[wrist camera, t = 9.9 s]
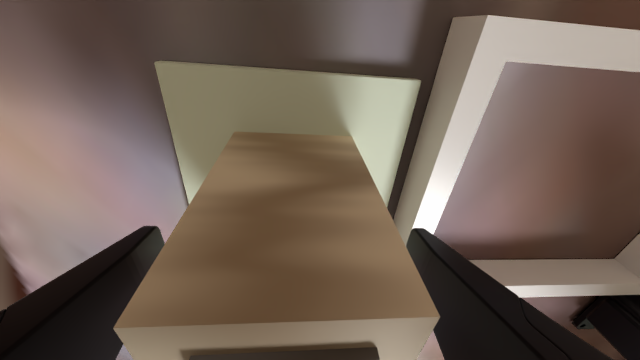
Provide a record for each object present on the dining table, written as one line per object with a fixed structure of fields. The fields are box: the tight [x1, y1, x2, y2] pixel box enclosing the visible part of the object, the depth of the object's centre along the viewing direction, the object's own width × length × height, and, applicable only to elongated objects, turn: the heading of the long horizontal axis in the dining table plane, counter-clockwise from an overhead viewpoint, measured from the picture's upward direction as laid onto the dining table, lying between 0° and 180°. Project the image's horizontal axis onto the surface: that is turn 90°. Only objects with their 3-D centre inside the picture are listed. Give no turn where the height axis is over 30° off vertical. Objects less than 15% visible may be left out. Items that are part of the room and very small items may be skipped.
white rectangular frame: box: [393, 15, 640, 297], centre depth 13 cm, size 18×14×2 cm
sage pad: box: [154, 61, 421, 207], centre depth 12 cm, size 10×10×1 cm
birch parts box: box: [113, 132, 440, 360], centre depth 8 cm, size 5×5×8 cm
